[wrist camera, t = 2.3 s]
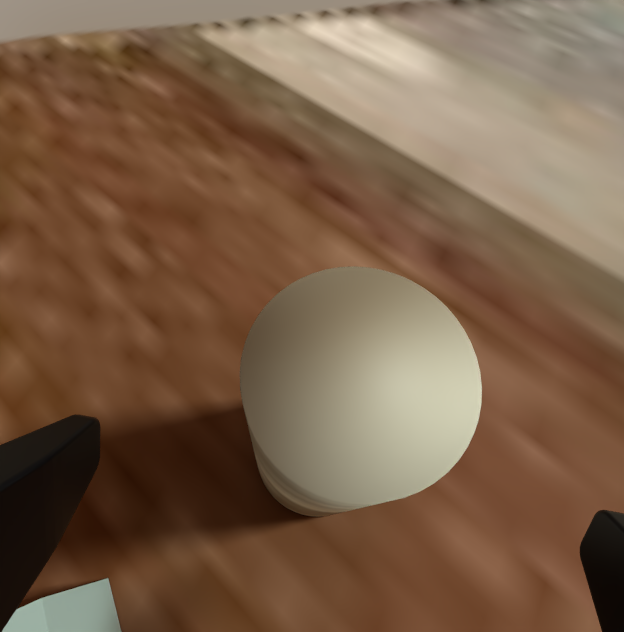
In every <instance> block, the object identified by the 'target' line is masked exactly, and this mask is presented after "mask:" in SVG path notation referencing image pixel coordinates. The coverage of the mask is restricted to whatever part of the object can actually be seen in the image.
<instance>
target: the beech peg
mask: <svg viewBox="0 0 624 632" xmlns="http://www.w3.org/2000/svg"><path fill="white" fill-rule="evenodd" d="M240 390H241V396H242V402H243V407H244V411H245V415H246V419H247V424H248V428H249V432H250V436H251V440H252V445H253V449H254V453H255V457H256V461H257V466H258V470H259V473H260V476H261V478H262V481H263V483H264V485H265V486H266V488H267V490H268V491H269V492H270V494H271V495H272V496H273V497H274V498H275V499H276V500H277V501H278V502H279V503H280V504H282V505H283V506H284V507H286V508H287V509H289V510H291V511H293V512H296V513H299V514H302V515H306V516H315V517H320V516H328V515H333V514H337V513H341V512H345V511H350V510H354V509H358V508H362V507H367V506H371V505H375V504H379V503H384V502H388V501H392V500H396V499H400V498H405V497H407V496H410V495H412V494H415V493H417V492H420V491H422V490H423V489H425V488H427V487H428V486H430V485H432V484H434V483H435V482H436V481H438V480H439V479H440V478H441V477H443V476H444V475H445V474H446V473H448V471H449V470H450V469H451V468H452V467H453V466H454V465H455V464H456V463H457V462H458V461H459V459H460V458H461V456H462V455H463V453H464V452H465V450H466V449H467V447H468V445H469V443H470V441H471V439H472V437H473V435H474V432H475V429H476V426H477V423H478V420H479V414H480V408H481V397H482V385H481V376H480V370H479V366H478V361H477V357H476V355H475V352H474V349H473V347H472V344H471V342H470V340H469V338H468V336H467V334H466V332H465V330H464V329H463V327H462V326H461V324H460V323H459V322H458V320H457V319H456V317H455V316H454V315H453V314H452V313H451V311H450V310H449V309H448V308H447V307H446V306H445V305H444V304H443V303H442V302H441V301H440V300H439V299H438V298H436V297H435V296H434V295H433V294H431V293H430V292H429V291H427V290H426V289H425V288H423V287H421V286H420V285H418V284H416V283H414V282H413V281H411V280H409V279H406V278H404V277H402V276H399V275H397V274H394V273H391V272H387V271H384V270H379V269H374V268H367V267H339V268H332V269H327V270H323V271H320V272H316V273H313V274H310V275H308V276H306V277H303V278H301V279H299V280H297V281H296V282H294V283H292V284H290V285H289V286H287V287H286V288H285V289H283V290H282V291H281V292H279V293H278V294H277V295H276V296H275V297H274V298H273V299H272V300H271V301H270V302H269V303H268V304H267V305H266V306H265V308H264V309H263V310H262V311H261V313H260V314H259V315H258V317H257V319H256V320H255V322H254V324H253V326H252V327H251V329H250V332H249V334H248V337H247V339H246V342H245V345H244V349H243V353H242V357H241V366H240Z"/></svg>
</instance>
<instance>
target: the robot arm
mask: <svg viewBox="0 0 624 632" xmlns="http://www.w3.org/2000/svg"><path fill="white" fill-rule="evenodd" d="M99 459H100V423H99V420H98V419H97V418H94V417H89V416H83V415H72V416H70V417H67V418H65V419H62V420H60V421H58V422H55V423H53V424H50V425H48V426H45V427H43V428H41V429H38V430H36V431H33V432H31V433H29V434H26V435H24V436H21V437H19V438H17V439H14V440H12V441H9V442H7V443H4V444H2V445H0V632H2V631H3V629H4V628H5V626H6V624H7V623H8V621H9V620H10V618H11V617H12V615H13V614H14V612H15V611H16V609H17V608H18V606H19V605H20V603H21V601H22V600H23V598H24V597H25V595H26V594H27V592H28V591H29V589H30V588H31V586H32V585H33V583H34V581H35V580H36V578H37V577H38V575H39V574H40V572H41V571H42V569H43V568H44V566H45V565H46V563H47V561H48V560H49V558H50V557H51V555H52V553H53V552H54V550H55V548H56V547H57V545H58V543H59V541H60V539H61V537H62V536H63V534H64V532H65V530H66V528H67V526H68V524H69V522H70V520H71V518H72V516H73V514H74V512H75V510H76V508H77V506H78V504H79V502H80V501H81V499H82V497H83V495H84V493H85V491H86V489H87V487H88V485H89V483H90V481H91V479H92V477H93V475H94V473H95V471H96V469H97V466H98V463H99ZM580 557H581V561H582V565H583V568H584V572H585V575H586V578H587V582H588V585H589V589H590V592H591V595H592V599H593V602H594V606H595V609H596V612H597V616H598V619H599V623H600V626H601V629H602V632H624V514H623V513H619V512H613V511H607V510H600V511H598V512H597V513H596V514H595V516H594V517H593V520H592V522H591V524H590V526H589V528H588V530H587V532H586V534H585V536H584V538H583V540H582V542H581V545H580Z"/></svg>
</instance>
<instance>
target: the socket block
mask: <svg viewBox="0 0 624 632" xmlns="http://www.w3.org/2000/svg"><path fill="white" fill-rule="evenodd" d="M2 632H121V628H120V624H119V620H118V616H117V612H116V608H115V604H114V600H113V596H112V592H111V587H110V583H109V579H108V578H107V579H103V580H100V581H97V582H93V583H90V584H87V585H83V586H80V587H77V588H73V589H70V590H67V591H63V592H60V593H57V594H53V595H50V596H46V597H43V598H40V599H38V600H36V601H34V602H32V603H29V604H27V605H25V606H23V607H21V608H18V609H16V611H15V612H14V614H13V615H12V617H11V618H10V620H9V621H8V623H7V624H6V626H5V628H4V629H3V631H2Z"/></svg>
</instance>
